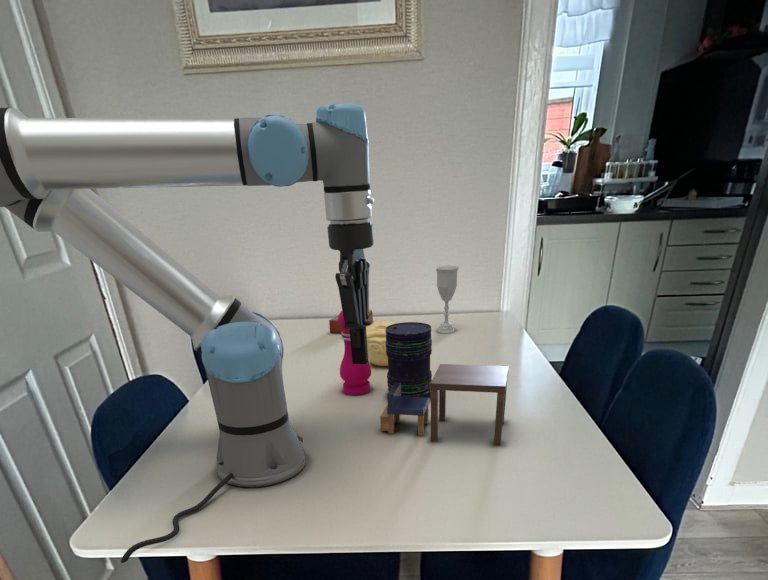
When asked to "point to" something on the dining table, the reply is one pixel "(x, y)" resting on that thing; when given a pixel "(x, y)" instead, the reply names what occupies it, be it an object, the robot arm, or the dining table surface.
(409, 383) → the dark blue barrel
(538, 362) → the dining table surface
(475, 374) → the little table
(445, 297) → the chalice
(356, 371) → the pepper mill
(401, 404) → the blue toy chair
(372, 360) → the sculpture
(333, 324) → the carton
